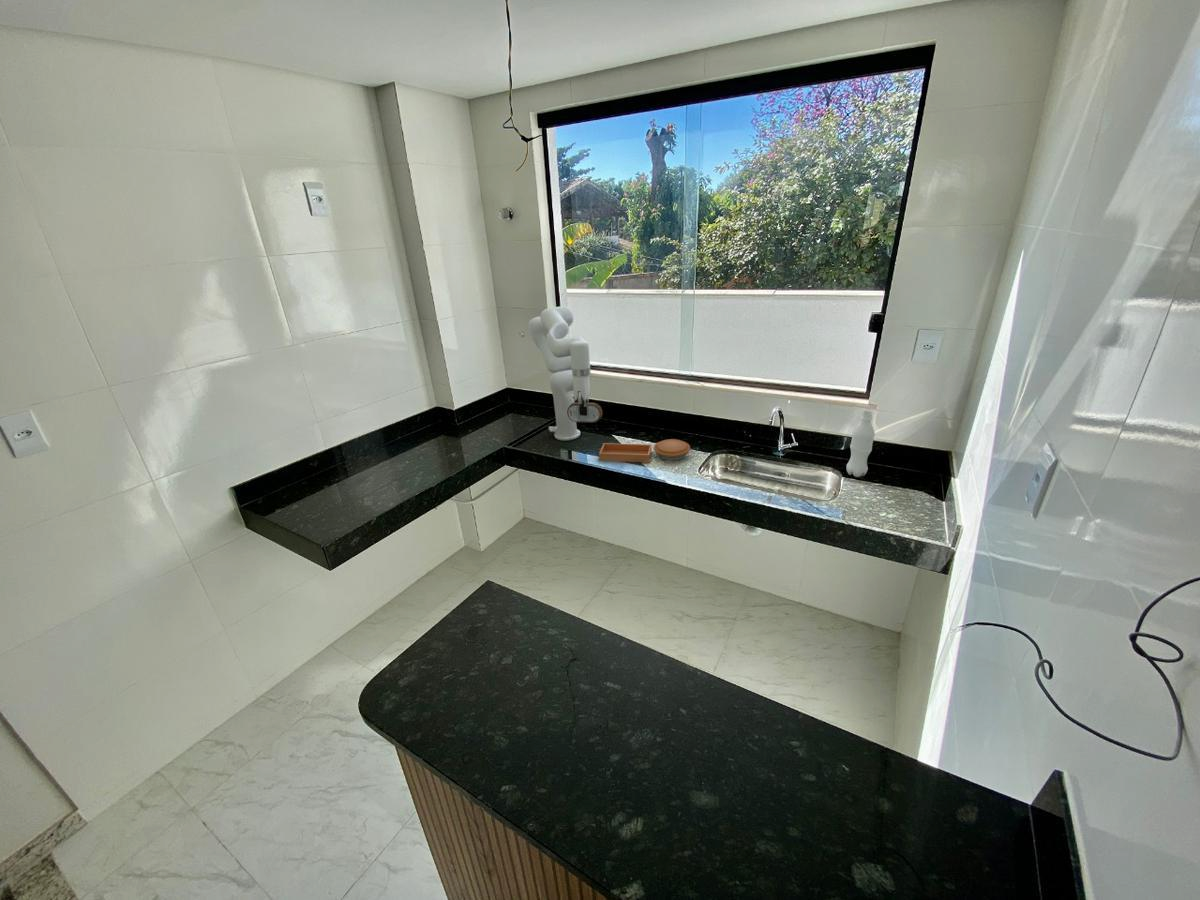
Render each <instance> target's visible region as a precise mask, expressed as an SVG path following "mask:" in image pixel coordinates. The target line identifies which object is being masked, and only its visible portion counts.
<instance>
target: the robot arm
mask: <svg viewBox="0 0 1200 900" xmlns="http://www.w3.org/2000/svg"><path fill="white" fill-rule="evenodd" d="M573 322H574V313H573V311H572V309H571V308H570V307H568V306H566V305H561V306H554V307H548V308H545V309H543V310H542V311H541V313H540V316H536V317H533V318H531V319H530V320H529V322H528V332H529V335H530V337H531V339H532V342H533V343H534V344H535V345H536V347H537V348H538V350H539V352H540V353H541V357H542V359H543V363H544V364H545V367H546V369H547V370H548V372H549V373H552V374H551V375H550V376H549V381H548V382H549V386H550V390H551V394H552V397H553V407H554V416H555V426H548V431H549V433H554V434H553V435H554V436H553V437H554V438H555V440H558V441H565V442H566V441H572V440H576V439H578V438H579V437H580V436H581V430H580V429H578V426H577V422H574V421H572V420H570V418H569V417H568V415H567V410H568V407H569V406H570V405H571V404H572V403H574V402H578V404H579V413H580V416H587V406H586V402H590V401H589V396H590V395H591V382H590V376H591V375H592V374H591V373H592V372H591V360H590V347H589V342H588V341H587V340H585V339H584V337H582V336H580V335H577V336H569V337H567V335H568V333H569V330H570V327H571V326H572V324H573ZM572 391H573V395H571V394H570V393H569V392H572ZM583 402H584V403H583Z"/></svg>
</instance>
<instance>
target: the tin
mask: <svg viewBox="0 0 1200 900" xmlns="http://www.w3.org/2000/svg"><path fill="white" fill-rule="evenodd" d="M583 403H584V402H583ZM586 406H587V416H580V413H579V404H578V401H574V403H572V404H571V405H570V406H569V407H568V410H567V415H568V417H569V418H570V420H572V421H574V422H576V423H589V424H590V423H591V424H593V423H596V422H599V421H600V420H601V418H602V417H603V413H604V411H603V408H602V407H601V405H599V404H598V403H596V402H590V401H589V402H586Z"/></svg>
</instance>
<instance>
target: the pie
mask: <svg viewBox="0 0 1200 900" xmlns="http://www.w3.org/2000/svg"><path fill="white" fill-rule="evenodd" d="M653 450H654V451H655V453H656V454H657V455H658V457H659V458H660V459H662V460H664V461H679V460H682V459H683V458H685V456H687V454H688V453H689V452H690V451H691V445H690V444H689V443H688V442H686V441H684V440H680V439H677V438H676V439H675V438H670V439H664V440H663V439H662V440H661V441H657V442H656V443H655V444H654V446H653Z"/></svg>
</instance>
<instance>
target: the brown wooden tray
mask: <svg viewBox="0 0 1200 900" xmlns="http://www.w3.org/2000/svg"><path fill="white" fill-rule="evenodd" d="M652 449H653V447H652V444H648V443H647V444H643V443H615V442H613V443H610V442H604V443H602V446H601V448H600V450H599V453H598V457H599V459H598V460H599V462H617V463H618V462H619V463H620V462H623V463H647V464H648V463H650V460H651V457H652V452H653V451H652Z"/></svg>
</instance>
